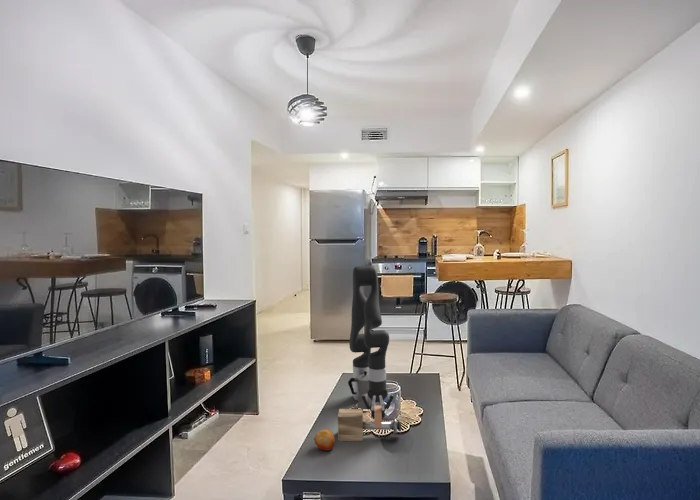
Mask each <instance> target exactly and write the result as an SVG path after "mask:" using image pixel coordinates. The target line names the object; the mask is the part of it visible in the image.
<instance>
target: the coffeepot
mask: <svg viewBox="0 0 700 500" xmlns="http://www.w3.org/2000/svg"><path fill="white" fill-rule="evenodd" d="M353 382H357V386H358V391H359V397H358V401H357V406H356V408H357V407H358V408H361V409H367V408H366V405H365V403H364V401H363V399H362V394H366V393H367V392H368V374H367V371H364V374H362V375H359V376H357V377H354V378H353V377H351V378H350V379H349V380H348V382H347V384H348V386H349V388H350V393H351V395H354V394H356V393H357V392H354V389H353ZM367 401H368V403H369V405H371V403H372V400H371V399H370V398H369V396H367Z"/></svg>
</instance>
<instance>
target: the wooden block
mask: <svg viewBox="0 0 700 500" xmlns="http://www.w3.org/2000/svg"><path fill="white" fill-rule="evenodd" d="M363 413H364V411H363V409H357V408H339V409H338V416H337V430H338V431H337V432H338V433H337V434H338V436H337V438H338V441H340V442H341V441H342V442H344V441H345V442H348V441H349V442H350V441H351V442H352V441H353V442H356V441H357V442H359V441H361V442H363V440H364V430H363V427H362V422H364V421H363V419H364V416H363Z"/></svg>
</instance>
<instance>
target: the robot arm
mask: <svg viewBox="0 0 700 500" xmlns="http://www.w3.org/2000/svg"><path fill="white" fill-rule="evenodd" d="M378 277H379V275H378V270H377V268H376V266H375V265H358V266H354V268H353V270H352V301H351V302H352V304H351V328H350V334H349V344H348V345H349V349H350V351H351V353H356V354H357V353H362V354H361V355H358V356H357V357H355V358H353V360H352V378H354V377H357V376H359V375H362V374H364V371H367V374H368V392H367V393H366V394H362V399H363V401H364V403H365V405H366V408H367V409H370V410H371V411H370V413H371V414H370V415H371V416H370V417H371V418H372V419H373V420H374V405H375V406H376V403H380V406H381V410H382V420H383V419H384V418H385V415H386V413H385V411H386V410H389V409H390V407H391V404H392V402H393V400H394V394H393V393H389V392H388V391H387V371H386V355H387V350H388V347H389V344H390V335H389V334H390V333H389V332H388V331H387V330H385V329H379V330H378V329H377V328H380V327H381V326H382V323H383V321H382V314H381V308H380V299H379V298H380V295H379V294H380V293H379V292H380V291H379V290H380V288H379V278H378ZM370 286H371V289H370V294H369V296H368V298H367V297H366V295H365V294H364V292H363V291H362V289H361V287H370ZM364 327H365V328H364ZM363 328H364V329H365V331H364V333H360V332H361V331H362V329H363ZM373 329H374V330H373ZM375 329H377V330H375ZM375 348H377V349H378V350H376V351H372V349H375ZM352 386H353V389H354V392H357V393H356V394H354V395H353V394H352V395H353V400H355V401H357V402H358V397H359V391H358V386H357V382H352ZM367 396H369V398H370V399H371V400H372V403H371V405H369V403H368V401H367ZM386 398H387V401H386V404H385V403H384V401H385V400H386Z"/></svg>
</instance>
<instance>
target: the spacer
mask: <svg viewBox="0 0 700 500" xmlns="http://www.w3.org/2000/svg"><path fill="white" fill-rule="evenodd" d="M373 420H374V421H373V422H374V423H375V428H382V422H383V421H382V420H383V419H382V410H381V405H375V406H374V419H373Z"/></svg>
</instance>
